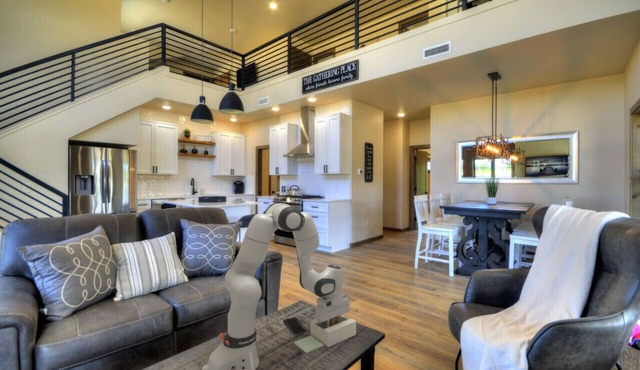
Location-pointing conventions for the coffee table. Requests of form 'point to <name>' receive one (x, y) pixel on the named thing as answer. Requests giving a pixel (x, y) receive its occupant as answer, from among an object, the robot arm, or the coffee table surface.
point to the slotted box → (333, 330)
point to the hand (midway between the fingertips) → (332, 325)
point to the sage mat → (308, 344)
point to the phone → (294, 325)
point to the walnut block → (334, 321)
